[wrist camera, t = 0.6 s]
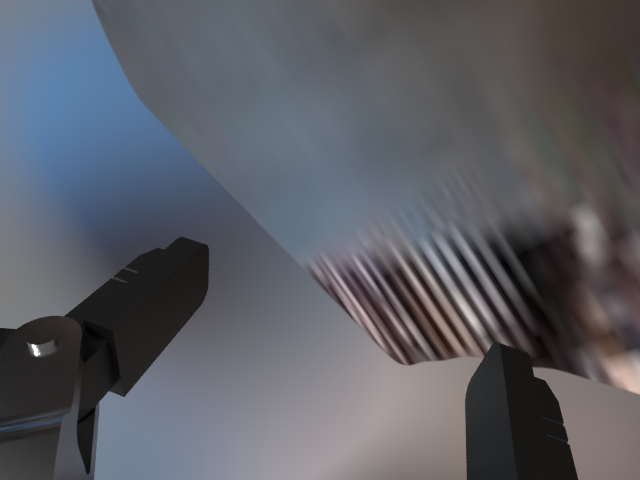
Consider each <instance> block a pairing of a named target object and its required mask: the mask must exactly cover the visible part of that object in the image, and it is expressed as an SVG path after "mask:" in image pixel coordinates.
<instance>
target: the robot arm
mask: <svg viewBox="0 0 640 480" xmlns="http://www.w3.org/2000/svg"><path fill="white" fill-rule="evenodd" d="M208 271H209V249H208V246H207V245H206V244H203V243H200V242H197V241H194V240H191V239H188V238H185V237H179V238H178V239H176V240H175V241H174V242H173V243H172V244H171V245H169V246H168V247H167V248H166V249H165V250H163V249H160V248H157V249H154V250H152V251H149V252H147V253H144V254H142V255H140V256H138V257H137V258H136V259H135V260H133V261H132V262H131V263H130V264H128V265H127V266H126V268H125V269H122V270H121V271H120V272H118V274H116V275H115V276H114V278H113V279H112V278H111V279H110V280H109V281H107V282H106V283H105V284H104V285H103V286H101V287H100V288H99V289H97V290H96V291H95V292H94V293H92V294H91V295H90V296H89V297H87V298H86V299H85V300H84V301H83V302H81V303H80V304H79V305H78V306H76V307H75V308H74V309H73V310H71V311H70V312H69V313H68V314H66V315H65V316H47V317H42V318H38V319H35V320H32V321H30V322H28V323H26V324H24V325H22V326H20V327H19V328H17V329H6V328H0V480H94V473H95V460H96V447H97V433H98V420H99V401H100V400H101V399H102V398H103V397H104V396H105V395H106V393H107V392H108V391H111V392H113V393H116V394H118V395H121V396H123V397H125V396H126V394H127V393H128V392H129V390H131V388H132V387H133V386H134V385H135V383H136V382H137V381H138V380H139V379H140V377H141V376H142V375H143V374H144V373H145V372H146V370H147V369H148V368H149V367H150V366H151V364H152V363H153V362H154V361H155V360H156V358H157V357H158V356H159V355H160V354H161V352H162V351H163V350H164V349H165V348H166V346H167V345H168V344H169V343H170V342H171V340H172V339H173V338H174V337H175V336H176V334H177V333H178V332H179V331H180V329H181V328H182V327H183V326H184V325H185V324H186V323H187V321H188V320H189V319H190V318H191V317H192V315H193V314H194V313H195V311H196V310H197V309H198V308H199V307H200V305H201V304H202V303H203V301H204V299H205V296H206V293H207V290H208V273H209V272H208ZM465 414H466V456H467V457H466V458H467V480H578V477H577V473H576V469H575V465H574V461H573V457H572V453H571V449H570V445H569V444H567V442H568V437H567V433H566V430H565V427H564V426H563V423H564V422H563V418H562V414H561V410H560V406H559V402H558V400H557V399H556V397H555V395H554V394H553V392H552V391H551V389H550V388H549V386H548V384H547V383H546V381H544V380H542V379H539V378H536V377H534V374H533V369H532V364H531V359H530V356H529V354H528V353H527V352H525V351H522V350H519V349H516V348H513V347H510V346H507V345H504V344H501V343H498V342H496V343H494V344H493V345H492V346H491V347H490V349H489V351H488V352H487V354H486V355H485V357H484V359H483V360H482V362H481V364H480V365H479V367H478V368H477V370H476V372H475V373H474V375H473V376H472V378H471V380H470V382H469V385H468V388H467V392H466V399H465Z"/></svg>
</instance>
